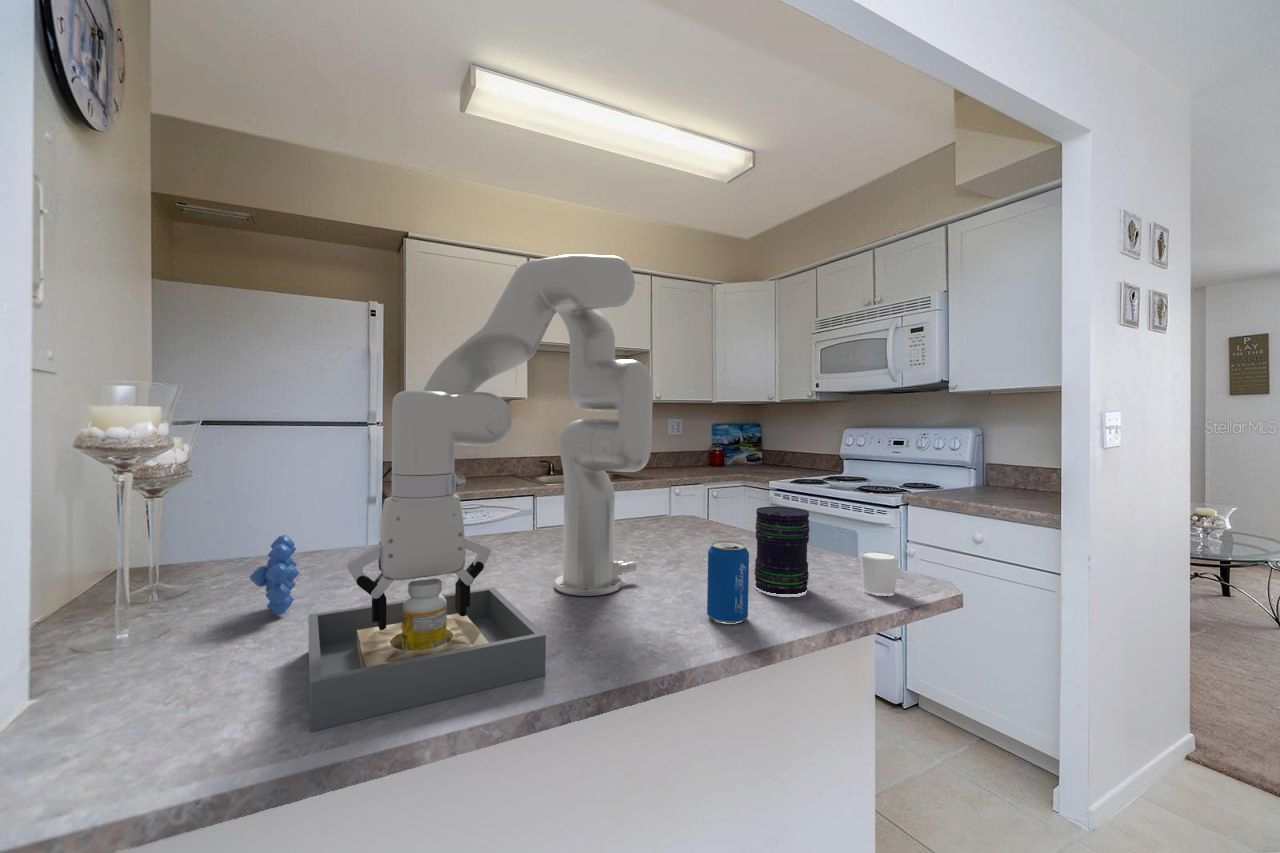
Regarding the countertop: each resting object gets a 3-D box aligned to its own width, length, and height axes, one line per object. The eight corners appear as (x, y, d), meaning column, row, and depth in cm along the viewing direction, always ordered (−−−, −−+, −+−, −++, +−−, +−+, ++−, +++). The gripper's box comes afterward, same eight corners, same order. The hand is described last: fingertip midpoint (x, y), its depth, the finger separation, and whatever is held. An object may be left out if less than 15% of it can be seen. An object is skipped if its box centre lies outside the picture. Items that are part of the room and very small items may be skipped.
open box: (493, 618, 88) (493, 587, 88) (545, 675, 69) (545, 635, 69) (308, 651, 75) (308, 614, 75) (310, 731, 56) (310, 682, 56)
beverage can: (722, 629, 85) (724, 550, 85) (699, 615, 91) (700, 542, 90) (756, 622, 88) (757, 546, 88) (731, 609, 94) (732, 538, 93)
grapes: (255, 603, 93) (255, 532, 93) (302, 598, 96) (302, 529, 96) (242, 627, 83) (242, 546, 83) (295, 620, 86) (295, 542, 86)
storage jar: (766, 579, 112) (768, 504, 112) (815, 588, 106) (817, 510, 106) (745, 591, 104) (746, 511, 104) (796, 601, 98) (798, 517, 98)
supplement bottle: (445, 662, 70) (446, 586, 70) (399, 667, 69) (400, 589, 68) (447, 645, 75) (447, 575, 75) (404, 650, 74) (404, 577, 74)
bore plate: (464, 628, 82) (464, 612, 81) (492, 665, 69) (492, 646, 69) (356, 647, 74) (356, 630, 74) (366, 693, 62) (367, 672, 62)
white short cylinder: (900, 591, 105) (901, 554, 105) (895, 600, 100) (896, 561, 99) (862, 584, 109) (863, 549, 109) (854, 593, 103) (855, 556, 103)
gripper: (482, 480, 79) (481, 600, 79) (345, 487, 70) (344, 622, 70) (498, 486, 73) (497, 617, 73) (349, 494, 64) (348, 643, 64)
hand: (422, 619), depth 72 cm, fingers open, 9 cm apart
